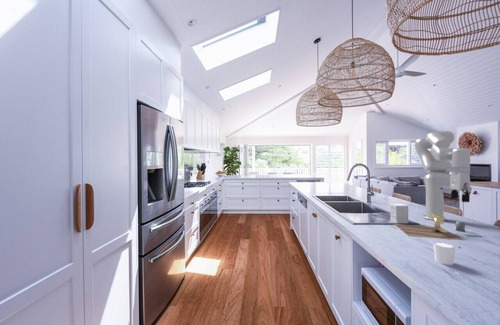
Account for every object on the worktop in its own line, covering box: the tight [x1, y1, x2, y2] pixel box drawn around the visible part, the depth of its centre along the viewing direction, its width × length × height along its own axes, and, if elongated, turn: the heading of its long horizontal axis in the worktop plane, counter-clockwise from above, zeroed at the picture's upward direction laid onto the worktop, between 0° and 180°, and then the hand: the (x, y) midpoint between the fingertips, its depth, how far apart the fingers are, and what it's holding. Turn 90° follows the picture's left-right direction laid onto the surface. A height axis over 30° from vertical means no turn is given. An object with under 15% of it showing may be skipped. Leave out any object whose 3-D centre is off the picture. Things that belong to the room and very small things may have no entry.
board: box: [394, 223, 465, 241], centre depth 122 cm, size 22×24×2 cm
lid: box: [449, 220, 482, 238], centre depth 124 cm, size 12×12×6 cm
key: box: [431, 213, 448, 233], centre depth 120 cm, size 2×11×9 cm, turn 162°
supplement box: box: [389, 203, 409, 224], centre depth 141 cm, size 7×7×13 cm
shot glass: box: [432, 241, 457, 266], centre depth 89 cm, size 7×7×7 cm
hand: (459, 200), depth 124 cm, fingers open, 9 cm apart
